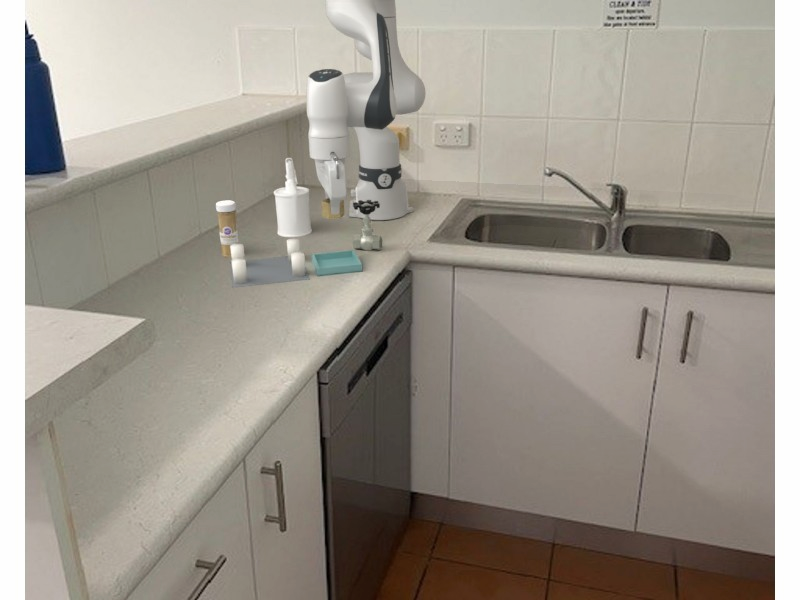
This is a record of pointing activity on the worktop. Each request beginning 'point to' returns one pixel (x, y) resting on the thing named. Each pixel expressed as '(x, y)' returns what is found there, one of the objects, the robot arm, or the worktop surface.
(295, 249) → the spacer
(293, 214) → the white spouted canister
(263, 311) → the worktop surface
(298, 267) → the cylinder
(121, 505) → the worktop surface
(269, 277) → the mat
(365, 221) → the valve
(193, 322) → the worktop surface
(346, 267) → the tray
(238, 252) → the spacer
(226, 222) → the sprinkles bottle
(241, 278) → the spacer
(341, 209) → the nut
